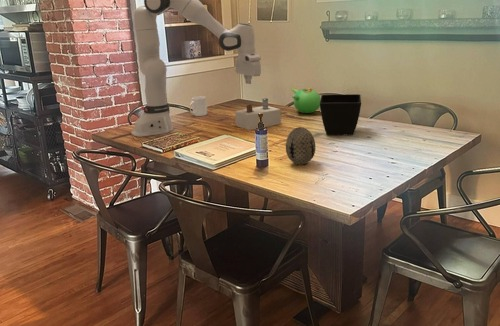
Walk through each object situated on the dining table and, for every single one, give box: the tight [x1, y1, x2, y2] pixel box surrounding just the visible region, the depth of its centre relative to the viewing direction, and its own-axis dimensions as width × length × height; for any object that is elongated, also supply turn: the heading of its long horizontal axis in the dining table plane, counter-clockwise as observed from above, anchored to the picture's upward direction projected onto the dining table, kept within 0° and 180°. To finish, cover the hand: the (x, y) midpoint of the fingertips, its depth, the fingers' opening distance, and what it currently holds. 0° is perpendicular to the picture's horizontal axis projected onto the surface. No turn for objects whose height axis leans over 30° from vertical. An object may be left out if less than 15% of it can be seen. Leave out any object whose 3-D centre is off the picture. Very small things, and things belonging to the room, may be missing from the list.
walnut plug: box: [246, 104, 253, 113], centre depth 243 cm, size 3×3×9 cm
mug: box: [189, 95, 208, 117], centre depth 277 cm, size 9×12×11 cm
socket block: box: [234, 105, 282, 131], centre depth 246 cm, size 20×14×8 cm
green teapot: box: [291, 87, 321, 114], centre depth 266 cm, size 18×17×15 cm
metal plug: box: [262, 97, 269, 110], centre depth 247 cm, size 3×3×9 cm
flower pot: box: [319, 93, 362, 136], centre depth 221 cm, size 19×19×17 cm
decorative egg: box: [285, 126, 316, 165], centre depth 180 cm, size 12×12×15 cm
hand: (248, 83), depth 238 cm, fingers closed
